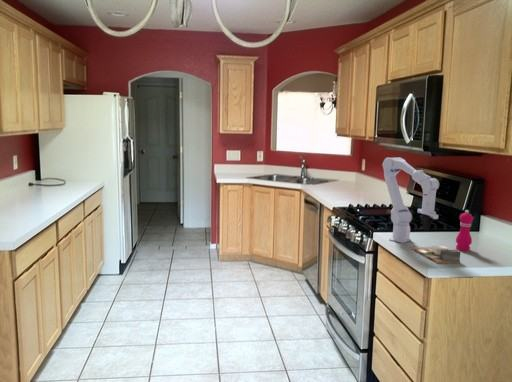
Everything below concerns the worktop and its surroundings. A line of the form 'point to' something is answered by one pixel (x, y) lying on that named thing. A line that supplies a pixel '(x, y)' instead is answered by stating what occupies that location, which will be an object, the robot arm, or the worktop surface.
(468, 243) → the pepper mill
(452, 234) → the worktop surface
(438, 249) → the gauge carriage
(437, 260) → the gauge base
